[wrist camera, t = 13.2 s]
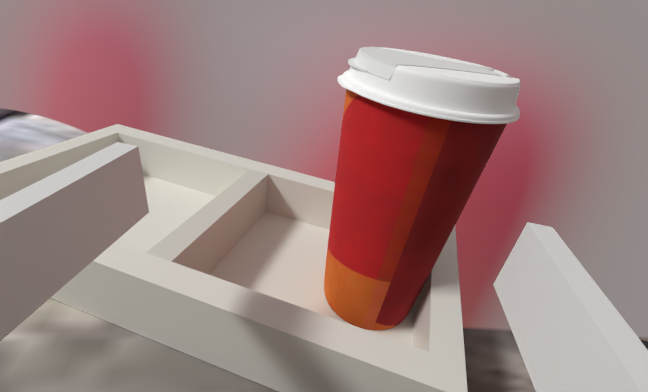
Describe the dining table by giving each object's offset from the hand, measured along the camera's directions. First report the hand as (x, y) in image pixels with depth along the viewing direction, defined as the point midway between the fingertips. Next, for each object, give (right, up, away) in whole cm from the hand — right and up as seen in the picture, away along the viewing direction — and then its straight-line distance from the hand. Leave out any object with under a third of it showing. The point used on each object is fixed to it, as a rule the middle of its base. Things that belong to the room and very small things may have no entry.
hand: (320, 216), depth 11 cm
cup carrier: (-7, -4, +12) cm, 14 cm away
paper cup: (+3, -6, +10) cm, 12 cm away
